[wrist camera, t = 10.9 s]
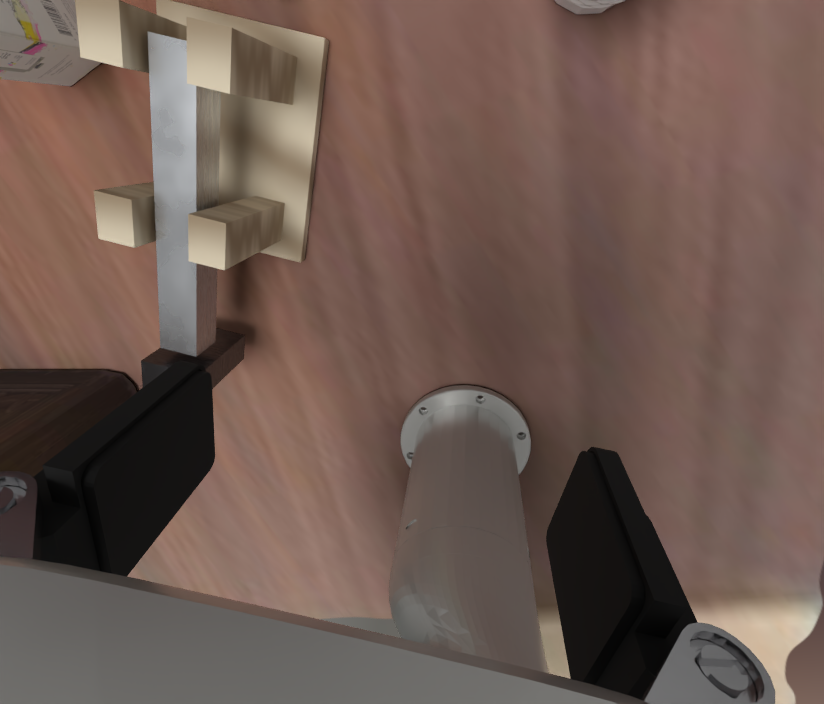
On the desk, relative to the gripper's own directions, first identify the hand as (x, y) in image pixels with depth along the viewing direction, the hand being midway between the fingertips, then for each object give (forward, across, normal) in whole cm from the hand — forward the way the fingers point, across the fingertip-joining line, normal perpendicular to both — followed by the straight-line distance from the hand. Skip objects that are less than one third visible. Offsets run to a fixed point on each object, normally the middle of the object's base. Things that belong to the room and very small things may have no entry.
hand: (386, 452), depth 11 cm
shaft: (+26, +17, +2) cm, 31 cm away
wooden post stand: (+28, +17, -4) cm, 33 cm away
